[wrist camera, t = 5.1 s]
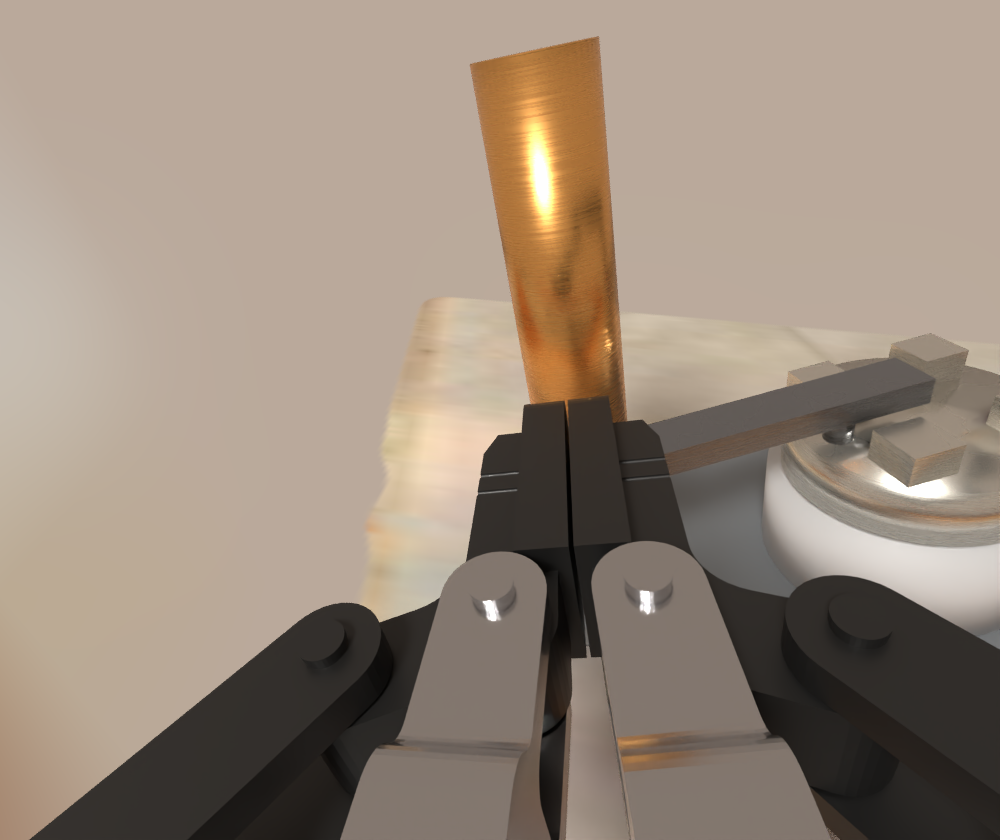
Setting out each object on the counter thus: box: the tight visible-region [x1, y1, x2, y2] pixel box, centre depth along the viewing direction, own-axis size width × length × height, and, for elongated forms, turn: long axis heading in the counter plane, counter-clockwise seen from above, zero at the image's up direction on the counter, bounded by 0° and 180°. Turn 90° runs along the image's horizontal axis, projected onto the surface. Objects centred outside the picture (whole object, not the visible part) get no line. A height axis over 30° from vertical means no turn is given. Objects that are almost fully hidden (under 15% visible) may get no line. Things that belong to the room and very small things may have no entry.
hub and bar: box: [470, 37, 1000, 547], centre depth 18 cm, size 19×9×16 cm, turn 101°
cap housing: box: [584, 445, 1000, 649], centre depth 27 cm, size 20×14×5 cm
